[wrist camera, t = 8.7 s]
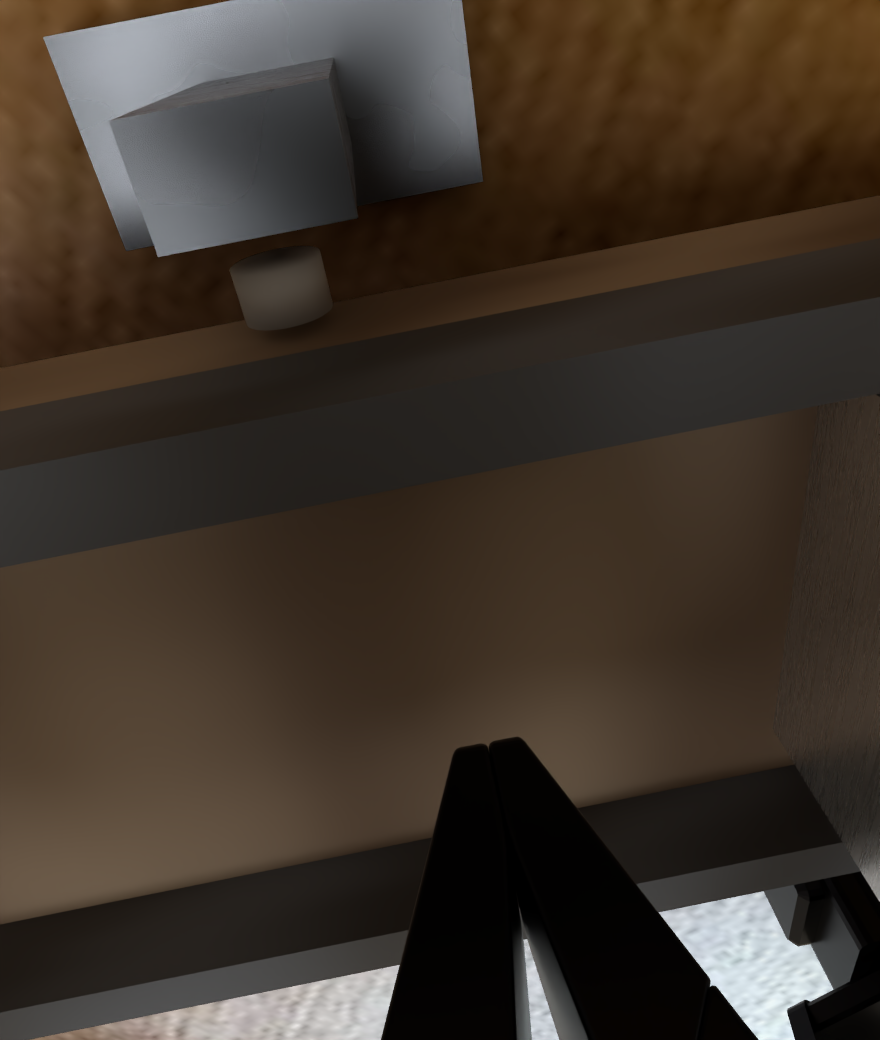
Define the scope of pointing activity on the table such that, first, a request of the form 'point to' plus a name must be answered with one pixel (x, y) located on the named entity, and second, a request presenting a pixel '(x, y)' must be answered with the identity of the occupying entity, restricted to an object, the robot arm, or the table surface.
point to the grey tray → (405, 599)
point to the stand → (269, 114)
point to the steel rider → (838, 631)
